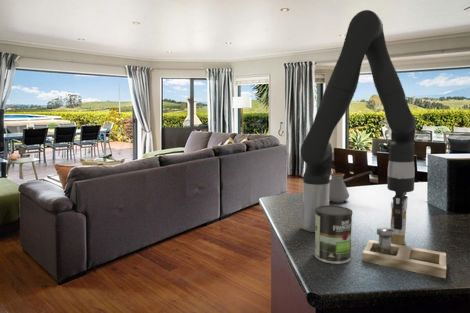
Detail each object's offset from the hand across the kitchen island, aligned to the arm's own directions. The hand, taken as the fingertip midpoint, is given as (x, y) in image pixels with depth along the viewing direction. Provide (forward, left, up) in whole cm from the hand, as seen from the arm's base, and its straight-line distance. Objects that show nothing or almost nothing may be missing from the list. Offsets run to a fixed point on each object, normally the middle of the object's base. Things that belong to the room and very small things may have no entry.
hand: (399, 225), depth 105 cm
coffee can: (-15, -20, -6) cm, 26 cm away
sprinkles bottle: (0, 0, -6) cm, 6 cm away
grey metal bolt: (-2, -14, -6) cm, 15 cm away
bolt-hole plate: (+3, -14, -6) cm, 15 cm away
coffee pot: (-26, +44, -6) cm, 52 cm away
